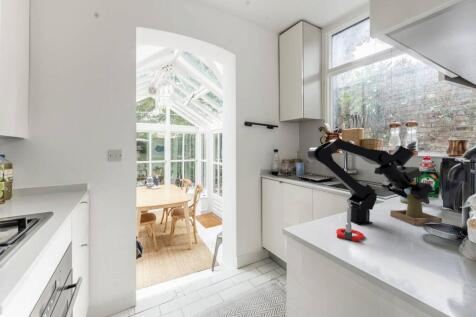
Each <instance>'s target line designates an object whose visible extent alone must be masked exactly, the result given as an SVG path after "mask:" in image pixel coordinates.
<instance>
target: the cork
mask: <svg viewBox="0 0 476 317" xmlns="http://www.w3.org/2000/svg"><path fill="white" fill-rule="evenodd" d="M407 200H408V204H407V207H406V210H407V211H406V215H407V216H410V217H412V218H423V213H424V212H423V205H422V203H423V202H422V201H420V200H418V199H416V198H414V196H412V195H411V194H408V195H407Z"/></svg>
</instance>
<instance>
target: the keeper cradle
mask: <svg viewBox="0 0 476 317" xmlns="http://www.w3.org/2000/svg"><path fill="white" fill-rule="evenodd" d="M389 211H390V213H389V214H390V217H392V218H395V219H397V220H399V221H400V222H401V221H402V222H404V223H406V224H409V225H412V226H415V227H416V226H425V225H424V224H425V223H429V222H435V223H442V224H443V218H442V217H439V216H435V215H433V214H429V213H427V212H423V218H412V217H410V216H407V215H406V211H407V209H398V210H397V209H395V210H391V209H390V210H389Z"/></svg>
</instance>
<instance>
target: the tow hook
mask: <svg viewBox="0 0 476 317" xmlns="http://www.w3.org/2000/svg"><path fill="white" fill-rule="evenodd" d="M351 206H352V205H351V201H350V200H348V202H347V208H346V223H345V228H336V229H335V230H336V231H335V232H336V237H337V238H340V239H342V240H343V239H344V240H347V241H350V242H351V241H354V242H357V243H360V242H361V240H364V238H365V235H364V233H362V232H361V231H358V230H356V229H352V226H353V225H352V222H351ZM353 234H355V235H353Z"/></svg>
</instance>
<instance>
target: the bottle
mask: <svg viewBox="0 0 476 317" xmlns="http://www.w3.org/2000/svg"><path fill="white" fill-rule="evenodd" d="M416 181H417V177H416V178H414V181H413V182H411V184H417V182H416ZM404 191H405V192H406V194H407V195H408V194H410V189H404ZM399 201H400V202H401V203H403V204H407V205H408V200H407V199H406V198H404V197H401V196H399Z"/></svg>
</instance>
